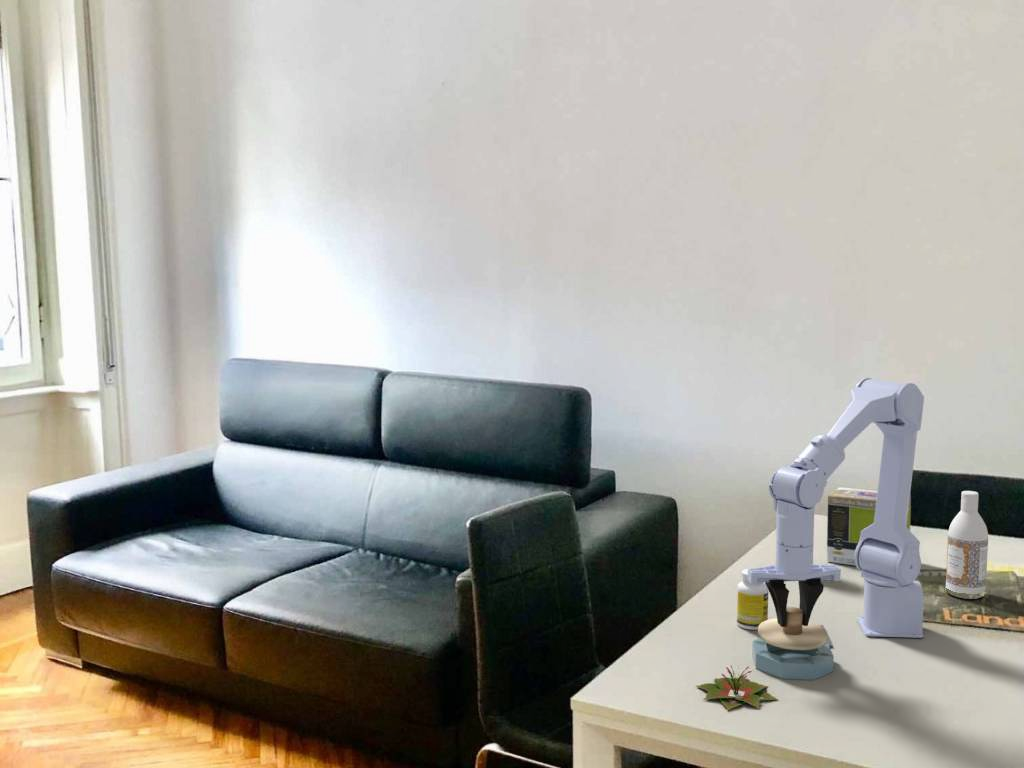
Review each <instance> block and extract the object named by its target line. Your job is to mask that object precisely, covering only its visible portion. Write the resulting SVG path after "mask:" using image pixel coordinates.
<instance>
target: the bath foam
mask: <svg viewBox="0 0 1024 768" xmlns="http://www.w3.org/2000/svg"><path fill="white" fill-rule="evenodd" d="M960 495H961V496H960V497H961V499H960V511H959V512H958V513H957V514H956V515H955V516H954V518H953V519H952V521H951V522H950V525H949V528H948V533H947V548H946V549H947V550H946V551H947V552H946V569H945V570H946V574H945V589H946V588H947V589H949V590H951V591H953V592H957V593H966V594H978V593H982V592H984V591H985V590H986V588H987V574H988V573H987V570H988V569H987V568H988V550H989V532H988V527H987V525H986V523H985V521H984V519H983V517H982V516H981V515H980V513H979V511H978V510H979V493H978V492H977V491H975V490H974V491H973V490H963V491H961V494H960ZM986 591H987V590H986ZM986 591H985V592H986Z"/></svg>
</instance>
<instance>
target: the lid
mask: <svg viewBox="0 0 1024 768" xmlns="http://www.w3.org/2000/svg"><path fill="white" fill-rule="evenodd" d="M786 613H787V622H786V627H781V626H780V625H779V624H778V621H777V617H774V618H770V619H769V618H768V620H766V621H764V622H762V623H761V624H760V625H759V626H758V630H757V635H758V637H759V639H760V638H761V639H762V640H763V641H765V642H767V643H768V644H771V645H773V646H776V647H780V648H784V649H790V650H810V649H816V648H819V647H821V646H823V645H825V644H826V642H827V639H828V637H829V635H828V631H826V629H824V628H825V627H824V628H823V627H821V626H819V625H820V624H817V623H816V622H813V621H810V620H809V623H808V626H803V610H801V609H799V607H795V606H789V607H788V606H787V609H786Z"/></svg>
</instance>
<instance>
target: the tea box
mask: <svg viewBox="0 0 1024 768" xmlns="http://www.w3.org/2000/svg"><path fill="white" fill-rule="evenodd" d="M877 491H878V489H869V488H868V489H867V488H860V487H849V486H839V487H837V488H836V489H835V490H834V491H832V492H831V493H830V494H828V495H827V516H826V517H827V521H826V523H827V527H826V530H827V531H826V561H827V562H828V563H834V564H842V565H847V566H849V565H850V566H855V567H856V564H855V559H854V554H855V550H856V547H857V545H858V543H859V540H860V534H861V531H862V530H863V529H865V528H867V527H868V526H870V525H872V524H873V523H874V517H875V508H876V500H877ZM911 503H912V497H911V493H910V499H909V508H908V516H907V525H906V526H907V528H908V529H909V530H910V531H911V515H912V513H911V511H912V510H911V508H912V505H911Z"/></svg>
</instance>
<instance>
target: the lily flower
mask: <svg viewBox="0 0 1024 768" xmlns="http://www.w3.org/2000/svg"><path fill="white" fill-rule="evenodd" d="M730 667H731V669H732V672H731V670H730V668H728V667H725V668H726V670H727V672H728V674H729V675H730V677H726V675H725V674H724V673H721V676H722V677H720V678H718V677H717V678H714V683H708V682H706V683H704V684H703V683H702V684H700V685H696V688H699V689H702V690H704V691H706V692H707V693H706V695H705V697H704V698H703V699H702V701H704V700H712V699H720V703H721V704H722V705H723V707H725V708H726V711H729V710H732V709H733V708H735V707H739V706H740V705H741V706H742V705H743V704H745V703H747V704H749V705H751V706H753V707H755V708H757V709H758V710H761V708H760V701H773V700H774V701H779V699H778V698H776V697H775V696H772V694H770V693H769V692H765V691H762V690H763V689H765V688H769V686H768V685H767V686H766V685H763V684H760V683H758V682H756V681H751V680H750V679H749V678H747V677H748V675H747V674H750V673H752V670H749V671H747V670H748V669H749V668H750V666H747V667H746V668H745V669H744V670H743V671H742V672H741V674H739V672H737V674H736V675H735V671H734V669H733V666H732V665H730ZM738 669H739V666H738ZM745 671H747V672H746V673H745ZM743 673H744V674H743ZM737 676H738V677H737ZM730 691H733V695H738V694H739V692H743V696H741V697H738V696H732V695H729V693H730ZM730 699H735V700H737V701H735V702H732V701H731V700H730Z"/></svg>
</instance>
